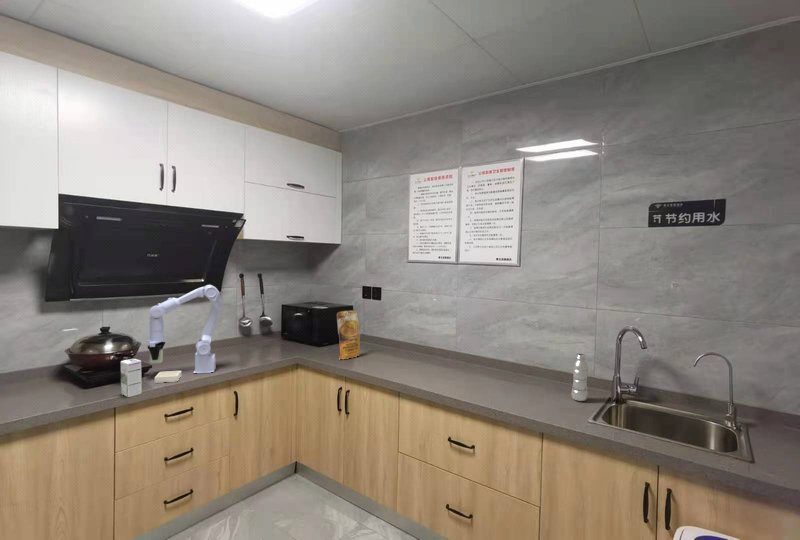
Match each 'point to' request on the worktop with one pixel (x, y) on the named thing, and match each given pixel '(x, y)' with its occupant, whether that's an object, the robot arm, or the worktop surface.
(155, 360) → the block
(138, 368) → the syrup box
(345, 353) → the pancake mix bag
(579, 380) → the plastic bottle
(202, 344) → the robot arm
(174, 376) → the bin
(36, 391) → the worktop surface
